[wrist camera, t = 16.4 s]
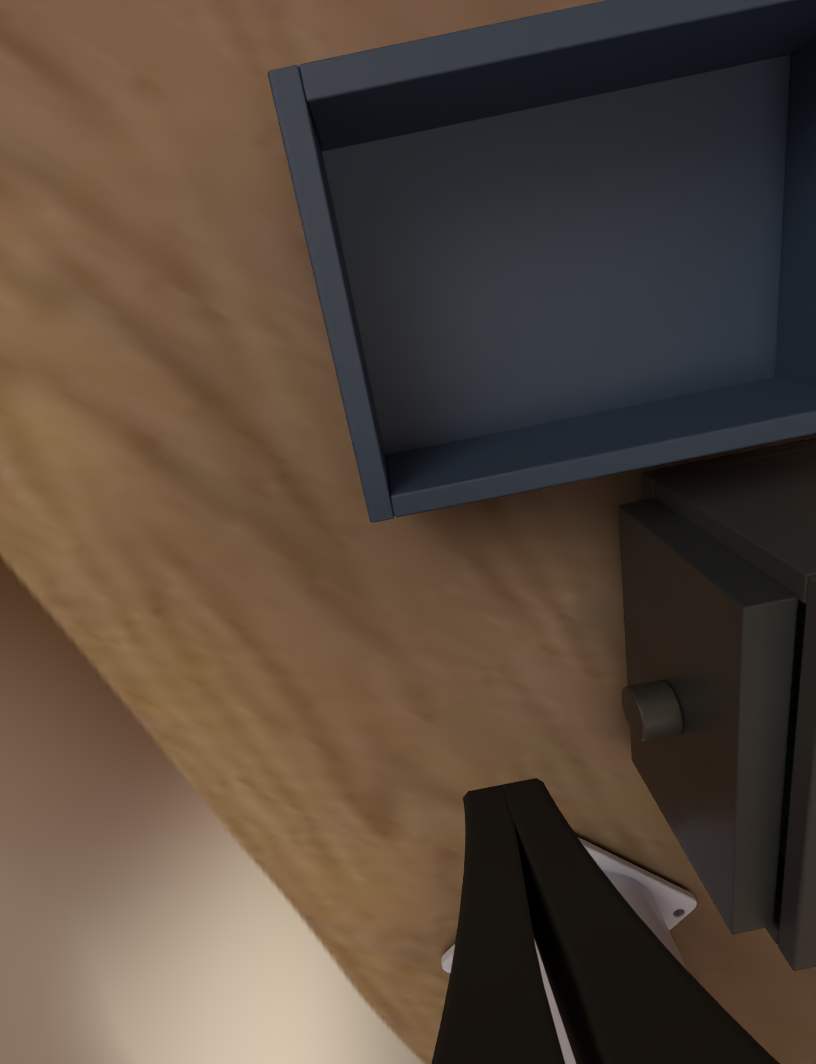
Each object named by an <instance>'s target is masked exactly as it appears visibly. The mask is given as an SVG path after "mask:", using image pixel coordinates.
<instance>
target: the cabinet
mask: <svg viewBox="0 0 816 1064" xmlns="http://www.w3.org/2000/svg"><path fill="white" fill-rule="evenodd" d="M653 498H655V499H656V500H658V501H659V502H661V503H662V504H664V505H665V506H666V507H668V508H669V509H671V510H672V511H674V512H675V513H677V514H678V515H680V516H681V517H682V518H684V519H685V520H687V521H688V522H690V523H691V524H693V525H694V526H695V527H697V528H698V529H700V530H701V531H703V532H704V533H706V534H707V535H709V536H710V537H711V538H713V539H714V540H716V541H717V542H719V543H720V544H722V545H723V546H724V547H726V548H727V549H729V550H730V551H732V552H733V553H735V554H736V555H738V556H739V557H740V558H742V559H743V560H745V561H746V562H748V563H749V564H751V565H752V566H753V567H755V568H756V569H758V570H759V571H761V572H762V573H764V574H765V575H767V576H768V577H769V578H771V579H772V580H774V581H775V582H777V583H778V584H780V585H781V586H782V587H784V588H785V589H787V590H788V591H790V592H791V593H793V594H794V595H796V596H797V597H798V599H799V600H800V601H802V602H803V603H806V614H805V626H804V638H803V650H802V662H801V674H800V686H799V698H798V710H797V722H796V734H795V746H794V758H793V770H792V782H791V794H790V806H789V818H788V830H787V842H786V854H785V859H784V857H783V856H782V855H781V853H780V852H779V856H778V869H777V882H776V895H775V908H774V921H773V926H772V927H767V928H766V929H767V931H768V932H769V934H770V935H771V937H772V938H773V940H774V942H775V943H776V944H778V948H779V949H780V951H781V952H782V954H783V956H784V957H785V959H786V960H787V962H788V963H789V965H790V967H791V968H792V969H793V970H794V971H797V970H803V969H808V968H813V967H816V439H811V440H806V441H801V442H796V443H791V444H786V445H781V446H776V447H771V448H766V449H761V450H756V451H751V452H746V453H741V454H736V455H731V456H726V457H721V458H716V459H711V460H706V461H701V462H696V463H691V464H686V465H681V466H676V467H671V468H666V469H661V470H656V471H651V472H646V473H644V500H648V499H653Z"/></svg>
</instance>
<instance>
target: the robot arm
mask: <svg viewBox="0 0 816 1064" xmlns="http://www.w3.org/2000/svg"><path fill="white" fill-rule="evenodd" d="M463 801H464V809H465V831H466V834H465V861H464V875H463V885H462V895H461V905H460V914H459V922H458V929H457V935H456V941H455V944H454V945H453V946H452V947H451V948H450V949H449V950H448V951H447V952H446V953H445V954H444V955H443V956H442V958H441V963H442V968H443V970H444V971H446V972H448V973H450V979H449V984H448V989H447V994H446V1000H445V1005H444V1010H443V1015H442V1019H441V1024H440V1029H439V1033H438V1038H437V1042H436V1046H435V1051H434V1055H433V1060H432V1064H780V1063H779V1062H778V1061H776V1060H775V1059H774V1058H773V1057H772V1056H771V1055H770V1054H769V1053H768V1052H767V1051H766V1050H765V1049H764V1048H763V1047H762V1046H761V1045H760V1044H759V1043H758V1042H757V1041H756V1040H755V1039H754V1038H753V1037H752V1036H751V1035H750V1034H749V1033H748V1032H747V1031H746V1030H745V1029H744V1028H743V1027H742V1026H741V1025H740V1024H739V1023H738V1022H737V1021H736V1020H734V1019H733V1018H732V1017H731V1016H730V1015H729V1014H728V1013H727V1012H726V1011H725V1010H724V1009H723V1007H722V1006H721V1005H720V1004H719V1003H718V1002H717V1001H716V1000H715V999H714V998H713V997H712V996H711V995H710V994H709V993H708V992H707V991H706V990H705V989H704V988H703V987H702V986H701V985H700V984H699V983H698V982H697V980H696V979H695V978H694V977H693V976H692V975H691V974H690V973H689V971H688V969H687V967H686V965H685V963H684V961H683V959H682V957H681V955H680V953H679V950H678V948H677V946H676V944H675V942H674V940H673V938H672V936H671V934H670V932H669V931H670V930H671V929H672V928H673V927H674V926H675V925H676V924H678V923H679V922H680V921H681V920H682V919H683V918H685V917H686V916H687V915H688V914H689V913H690V912H691V911H693V910H694V909H695V907H696V904H697V902H696V900H695V898H694V896H693V894H692V893H690V892H689V891H687V890H684V889H682V888H680V887H678V886H676V885H674V884H672V883H670V882H668V881H666V880H664V879H662V878H660V877H658V876H656V875H654V874H652V873H650V872H648V871H646V870H644V869H642V868H640V867H638V866H636V865H634V864H632V863H630V862H628V861H626V860H624V859H621V858H619V857H617V856H615V855H613V854H611V853H609V852H607V851H605V850H603V849H601V848H599V847H597V846H595V845H593V844H591V843H589V842H587V841H585V840H583V839H581V838H579V837H577V835H576V834H575V833H574V831H573V830H572V828H571V827H570V825H569V824H568V822H567V821H566V819H565V818H564V816H563V815H562V813H561V812H560V810H559V809H558V807H557V805H556V804H555V802H554V800H553V799H552V797H551V795H550V794H549V792H548V790H547V788H546V787H545V785H544V783H543V782H542V781H540V780H539V779H537V778H535V779H529V780H524V781H519V782H514V783H509V784H504V785H499V786H493V787H488V788H483V789H478V790H473V791H468V792H467V794H466V795H465V796H464V797H463Z"/></svg>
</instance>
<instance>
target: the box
mask: <svg viewBox="0 0 816 1064" xmlns="http://www.w3.org/2000/svg"><path fill="white" fill-rule="evenodd" d="M268 77H269V82H270V86H271V90H272V95H273V99H274V103H275V108H276V112H277V116H278V121H279V125H280V130H281V134H282V138H283V143H284V147H285V151H286V156H287V160H288V164H289V169H290V173H291V178H292V182H293V186H294V191H295V195H296V199H297V204H298V208H299V212H300V217H301V221H302V226H303V230H304V234H305V239H306V243H307V247H308V252H309V256H310V261H311V265H312V269H313V274H314V278H315V282H316V287H317V291H318V295H319V300H320V304H321V309H322V313H323V317H324V322H325V326H326V330H327V335H328V339H329V343H330V348H331V352H332V357H333V361H334V365H335V370H336V374H337V378H338V383H339V387H340V391H341V396H342V400H343V405H344V409H345V413H346V418H347V422H348V426H349V431H350V435H351V439H352V444H353V448H354V453H355V457H356V461H357V466H358V470H359V474H360V479H361V483H362V487H363V492H364V496H365V501H366V505H367V509H368V514H369V518H370V521H371V522H378V521H383V520H388V519H393V518H394V516H395V517H401V516H406V515H411V514H416V513H421V512H426V511H431V510H436V509H441V508H446V507H451V506H456V505H461V504H466V503H471V502H476V501H481V500H486V499H491V498H496V497H501V496H506V495H511V494H516V493H521V492H526V491H531V490H536V489H541V488H546V487H551V486H556V485H561V484H566V483H571V482H576V481H581V480H586V479H591V478H596V477H601V476H606V475H611V474H616V473H621V472H626V471H631V470H636V469H641V468H646V467H651V466H656V465H661V464H666V463H671V462H676V461H681V460H686V459H691V458H696V457H701V456H706V455H711V454H716V453H721V452H726V451H731V450H736V449H741V448H746V447H751V446H756V445H761V444H766V443H771V442H776V441H781V440H786V439H791V438H796V437H801V436H806V435H811V434H816V0H606V1H602V2H597V3H592V4H587V5H582V6H578V7H573V8H568V9H563V10H558V11H554V12H549V13H544V14H539V15H535V16H530V17H525V18H520V19H515V20H511V21H506V22H501V23H496V24H491V25H487V26H482V27H477V28H472V29H467V30H463V31H458V32H453V33H448V34H443V35H439V36H434V37H429V38H424V39H419V40H415V41H410V42H405V43H400V44H395V45H391V46H386V47H381V48H376V49H372V50H367V51H362V52H357V53H352V54H348V55H343V56H338V57H333V58H328V59H324V60H319V61H314V62H309V63H304V64H301V65H300V68H299V66H297V65H294V66H290V67H285V68H280V69H275V70H270V71H269V72H268Z"/></svg>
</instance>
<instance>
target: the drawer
mask: <svg viewBox="0 0 816 1064" xmlns="http://www.w3.org/2000/svg"><path fill="white" fill-rule="evenodd" d="M618 509H619V527H620V546H621V565H622V583H623V602H624V621H625V639H626V658H627V677H628V686H627V687H625V688H624V689H623V691H622V703H623V709H624V713H625V716H626V719H627V722H628V724H629V727H630V733H631V751H632V761H633V763H634V765H635V766H636V768H637V770H638V772H639V773H640V775H641V777H642V779H643V780H644V782H645V784H646V786H647V787H648V789H649V791H650V793H651V794H652V796H653V798H654V799H655V801H656V803H657V805H658V806H659V808H660V810H661V812H662V813H663V815H664V817H665V819H666V820H667V822H668V824H669V826H670V827H671V829H672V831H673V833H674V834H675V836H676V838H677V840H678V841H679V843H680V845H681V846H682V848H683V850H684V852H685V853H686V855H687V857H688V859H689V860H690V862H691V864H692V866H693V867H694V869H695V871H696V873H697V874H698V876H699V878H700V880H701V881H702V883H703V885H704V887H705V888H706V890H707V892H708V893H709V895H710V897H711V899H712V900H713V902H714V904H715V906H716V907H717V909H718V911H719V913H720V914H721V916H722V918H723V920H724V921H725V923H726V925H727V927H728V928H729V930H730V932H731V933H732V934H736V933H741V932H746V931H752V930H757V929H762V928H767V927H772V926H773V921H774V908H775V895H776V882H777V869H778V856H779V852H780V853H781V855H782V856H783V857H784V859H785V854H786V842H787V830H788V818H789V806H790V794H791V782H792V770H793V758H794V746H795V734H796V722H797V710H798V698H799V686H800V674H801V662H802V650H803V638H804V626H805V614H806V603H803V602H802V601H800V600H799V599H798V597H797V596H796V595H794V594H793V593H791V592H790V591H788V590H787V589H785V588H784V587H782V586H781V585H780V584H778V583H777V582H775V581H774V580H772V579H771V578H769V577H768V576H767V575H765V574H764V573H762V572H761V571H759V570H758V569H756V568H755V567H753V566H752V565H751V564H749V563H748V562H746V561H745V560H743V559H742V558H740V557H739V556H738V555H736V554H735V553H733V552H732V551H730V550H729V549H727V548H726V547H724V546H723V545H722V544H720V543H719V542H717V541H716V540H714V539H713V538H711V537H710V536H709V535H707V534H706V533H704V532H703V531H701V530H700V529H698V528H697V527H695V526H694V525H693V524H691V523H690V522H688V521H687V520H685V519H684V518H682V517H681V516H680V515H678V514H677V513H675V512H674V511H672V510H671V509H669V508H668V507H666V506H665V505H664V504H662V503H661V502H659V501H658V500H656V499H655V498H653V499H648V500H643V501H638V502H633V503H628V504H623V505H619V506H618Z"/></svg>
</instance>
